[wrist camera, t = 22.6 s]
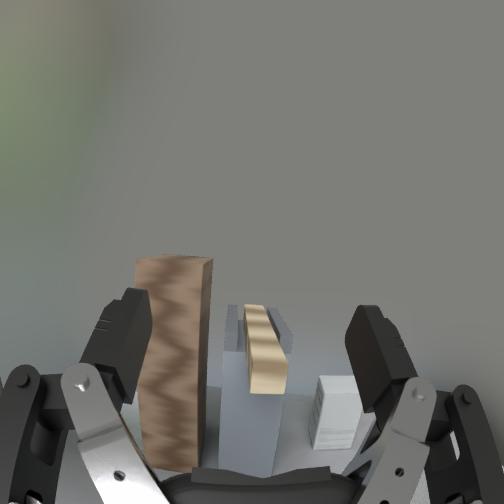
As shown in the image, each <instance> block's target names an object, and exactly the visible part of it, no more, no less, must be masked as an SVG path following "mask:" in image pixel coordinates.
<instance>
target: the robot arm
mask: <svg viewBox="0 0 504 504" xmlns="http://www.w3.org/2000/svg"><path fill="white" fill-rule="evenodd" d="M152 326H153V320H152V313H151V307H150V300H149V294H148V291H147V290H145V289H136V288H127V289H126V291H125V293H124V295H123V297H122V299H121V300H113V301H112V302H111V303H110V304H108V305H107V306H106V307H105V308H104V310H103V312H102V314H101V316H100V318H99V321H98V322H97V324H96V327H95V329H94V331H93V333H92V335H91V337H90V339H89V342H88V344H87V346H86V348H85V350H84V353H83V355H82V357H81V360H80V362H79V363H77V364H74V365H71V366H70V367H68V368H67V369H66V370H65V371H64V373H63V374H50V375H40V374H39V373H38V371H37V370H36V369H35V368H34V367H33V366H31V365H20V366H18V367H16V368H15V369H14V370H13V371H12V372H11V373H10V375H9V377H8V379H7V381H6V384H5V386H4V388H3V386H2V382H1V378H0V504H55V497H56V490H57V484H58V477H59V472H60V466H61V461H62V456H63V451H64V447H65V442H66V438H67V434H68V430H73V429H76V432H77V434H78V437H79V441H78V442H77V444H78V448H79V451H80V454H81V456H82V458H83V461H84V463H85V465H86V467H87V469H88V472H89V474H90V476H91V478H92V480H93V482H94V484H95V486H96V488H97V490H98V492H99V494H100V495H101V497H102V499H103V501H104V503H105V504H410V501H411V499H412V497H413V494H414V492H415V490H416V487H417V485H418V482H419V479H420V477H421V474H422V472H423V469H424V470H425V475H426V480H427V486H428V491H429V497H430V503H431V504H504V473H503V469H502V465H501V461H500V458H499V454H498V451H497V448H496V444H495V441H494V438H493V435H492V432H491V429H490V426H489V424H488V421H487V418H486V415H485V413H484V410H483V407H482V405H481V402H480V400H479V397H478V395H477V393H476V392H475V390H474V389H473V388H471V387H470V386H468V385H459V386H457V388H455V389H454V390H453V392H452V393H451V392H444V391H437V390H435V388H434V387H433V385H432V384H431V383H430V382H429V381H427V380H426V379H424V378H420V377H418V375H417V372H416V370H415V368H414V366H413V363H412V361H411V358H410V356H409V354H408V352H407V350H406V347H404V343H403V341H402V339H401V337H400V334H399V332H398V330H397V328H396V327H395V325H394V324H392V322H391V321H390V320H389V319H388V318H384V317H383V315H382V313H381V311H380V308H379V307H378V306H376V305H359V306H358V307H357V309H356V311H355V313H354V316H353V318H352V320H351V322H350V325H349V327H348V329H347V331H346V335H345V346H346V350H347V353H348V356H349V360H350V363H351V366H352V370H353V373H354V377H355V381H356V384H357V388H358V391H359V395H360V399H361V403H362V406H363V410H364V413H372V412H375V415H376V418H375V419H374V420H373V422H372V424H371V426H370V428H369V430H368V432H367V434H366V436H365V438H364V440H363V442H362V444H361V446H360V448H359V450H358V451H357V453H356V455H355V457H354V458H353V460H352V461H351V462H350V463H349V464H348V466H347V467H346V468H345V469H344V471H343V472H342V474H341V475H340V474H335V473H331V472H330V466H326V467H316V468H305V469H296V470H293V471H290V472H286V473H283V474H279V475H275V476H271V477H267V478H259V477H254V476H250V475H246V474H242V473H238V472H234V471H230V470H224V469H210V468H199V467H192V473H184V474H180V475H176V476H173V477H170V478H168V479H166V480H164V481H162V482H161V481H160V480H159V478H158V477H157V475H156V474H155V472H154V471H153V469H152V467H151V466H150V464H149V463H148V461H147V460H146V458H145V457H144V455H143V454H142V452H141V450H140V448H139V447H138V445H137V443H136V441H135V440H134V438H133V436H132V434H131V432H130V431H129V429H128V427H127V425H126V423H125V421H124V419H123V417H122V415H121V413H120V411H121V408H122V404H123V403H127V404H131V405H132V402H133V398H134V395H135V391H136V387H137V383H138V379H139V376H140V372H141V368H142V365H143V361H144V358H145V354H146V351H147V347H148V344H149V340H150V337H151V333H152ZM453 431H454V433H455V437H456V440H457V444H458V447H459V451H460V455H459V459H458V460H457V459H456V455H455V451H454V448H453V444H452V440H451V437H450V433H452V432H453Z"/></svg>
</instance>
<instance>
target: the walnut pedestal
mask: <svg viewBox="0 0 504 504" xmlns="http://www.w3.org/2000/svg"><path fill="white" fill-rule="evenodd" d="M212 269H213V258H206V257H195V256H183V255H172V254H163V255H157V256H151V257H144V258H138V259H136V271H135V288H136V289H145V290H147V291H148V294H149V300H150V307H151V313H152V320H153V326H152V333H151V337H150V340H149V344H148V347H147V351H146V354H145V358H144V361H143V365H142V368H141V372H140V376H139V379H138V383H137V392H138V404H139V414H140V423H141V431H142V439H143V446H144V453H145V458H146V460H147V461H148V463H149V464H150V466H151V467H153V468H158V469H164V470H170V471H176V472H183V473H192V467H199V464H200V457H201V450H202V444H203V437H204V430H205V424H206V383H207V357H208V333H209V316H210V299H211V283H212Z"/></svg>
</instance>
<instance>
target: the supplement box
mask: <svg viewBox="0 0 504 504" xmlns="http://www.w3.org/2000/svg"><path fill="white" fill-rule="evenodd" d="M318 378H319V379H318V383H317V389H316V395H315V400H314V405H313V410H312V415H311V420H310V424H309V432H310V437H311V443H312V448H313V450H330V449H350V448H351V445H352V442H353V439H354V436H355V432H356V429H357V426H358V422H359V419H360V415H361V412H362V408H363V406H362V403H361V399H360V395H359V391H358V388H357V384H356V381H355V377H354V376H321V375H320V376H319V377H318Z"/></svg>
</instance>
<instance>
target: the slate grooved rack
mask: <svg viewBox="0 0 504 504" xmlns="http://www.w3.org/2000/svg"><path fill="white" fill-rule="evenodd" d="M237 314H238V313H237V305H228V311H227V319H226V327H225V340H224V358H223V373H222V374H223V375H222V391H221V411H220V433H219V458H218V469H224V470H230V471H234V472H238V473H242V474H246V475H250V476H254V477H259V478H267V477H271V474H272V469H273V464H274V458H275V453H276V447H277V442H278V436H279V430H280V424H281V418H282V411H283V405H284V398H285V393H284V394H256V393H250V387H249V378H248V368H247V358H246V348H245V338H244V327H243V320H238V318H237V317H238V315H237ZM267 316H268V318H269V321H270V323H271V325H272V328H273V330H274V332H275V334H276V337H277V339H278V341H279V344H280V346H281V348H282V350H283V353H284V355H285V357H286V360H287V362H288V364H289V363H290V355H291V348H292V340H293V334H292V332H291V331H290V329H289V328H288V326H287V325H286V323H285V321H284V320H283V318H282V316H281V315H280V313H279V312H278V310H277V308H270V307H268V308H267ZM288 371H289V365H288ZM287 378H288V372H287ZM286 385H287V379H286ZM285 392H286V386H285Z"/></svg>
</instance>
